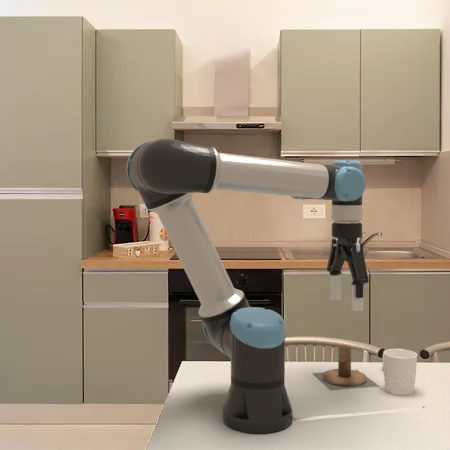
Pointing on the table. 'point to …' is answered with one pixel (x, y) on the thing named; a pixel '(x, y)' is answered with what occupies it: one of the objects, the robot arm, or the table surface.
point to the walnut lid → (344, 371)
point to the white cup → (399, 371)
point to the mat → (332, 387)
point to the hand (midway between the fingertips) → (346, 305)
